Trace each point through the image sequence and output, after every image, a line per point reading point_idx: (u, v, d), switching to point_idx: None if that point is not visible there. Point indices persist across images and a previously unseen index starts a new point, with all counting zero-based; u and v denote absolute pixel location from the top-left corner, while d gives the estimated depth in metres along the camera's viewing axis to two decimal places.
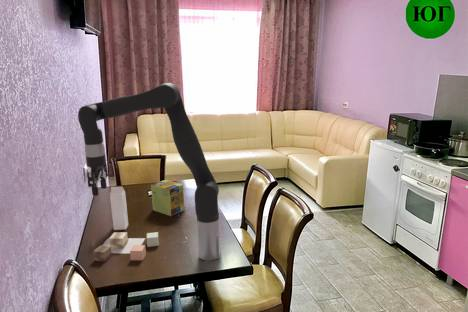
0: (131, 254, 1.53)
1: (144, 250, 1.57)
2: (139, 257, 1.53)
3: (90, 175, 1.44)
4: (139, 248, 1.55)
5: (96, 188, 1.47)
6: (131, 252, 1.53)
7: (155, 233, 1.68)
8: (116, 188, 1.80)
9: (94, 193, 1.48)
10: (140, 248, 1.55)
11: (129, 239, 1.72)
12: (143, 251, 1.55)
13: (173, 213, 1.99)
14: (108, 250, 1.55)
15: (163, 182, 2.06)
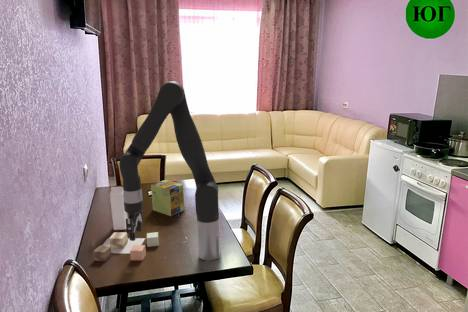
0: (131, 254, 1.53)
1: (144, 250, 1.57)
2: (139, 257, 1.53)
3: (129, 222, 1.45)
4: (139, 248, 1.55)
5: (133, 233, 1.48)
6: (131, 252, 1.53)
7: (155, 233, 1.68)
8: (116, 188, 1.80)
9: (131, 238, 1.49)
10: (140, 248, 1.55)
11: (129, 239, 1.72)
12: (143, 251, 1.55)
13: (173, 213, 1.99)
14: (108, 250, 1.55)
15: (163, 182, 2.06)
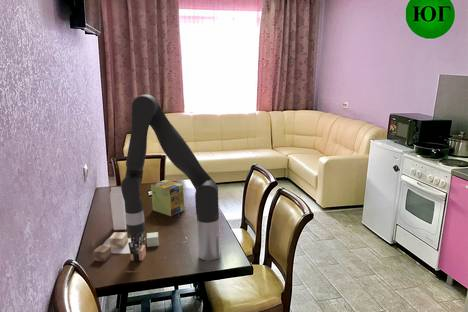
0: (131, 254, 1.53)
1: (144, 250, 1.57)
2: (139, 257, 1.53)
3: (132, 246, 1.48)
4: (139, 248, 1.55)
5: (137, 254, 1.52)
6: None
7: (155, 233, 1.68)
8: (116, 188, 1.80)
9: (135, 259, 1.53)
10: (140, 248, 1.55)
11: (129, 239, 1.72)
12: (143, 251, 1.55)
13: (173, 213, 1.99)
14: (108, 250, 1.55)
15: (163, 182, 2.06)
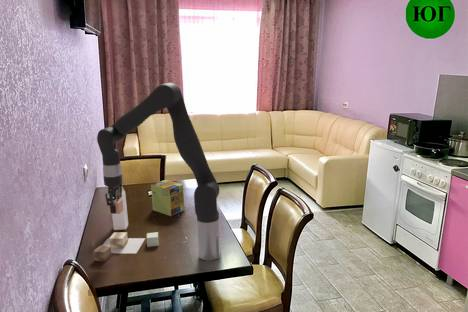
0: (108, 206, 1.58)
1: (121, 203, 1.61)
2: None
3: (108, 196, 1.52)
4: (116, 201, 1.59)
5: (114, 206, 1.57)
6: None
7: (155, 233, 1.68)
8: None
9: (112, 211, 1.57)
10: (117, 201, 1.59)
11: (129, 239, 1.72)
12: (120, 204, 1.59)
13: (173, 213, 1.99)
14: (108, 250, 1.55)
15: (163, 182, 2.06)
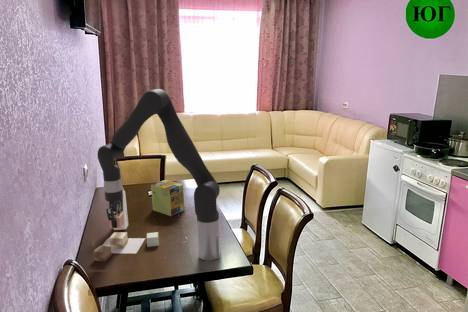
0: (109, 221, 1.61)
1: (123, 217, 1.65)
2: (117, 223, 1.61)
3: (109, 212, 1.55)
4: (117, 215, 1.63)
5: (115, 221, 1.60)
6: None
7: (155, 233, 1.68)
8: None
9: (113, 226, 1.60)
10: (118, 215, 1.62)
11: (129, 239, 1.72)
12: (121, 218, 1.63)
13: (173, 213, 1.99)
14: (108, 250, 1.55)
15: (163, 182, 2.06)
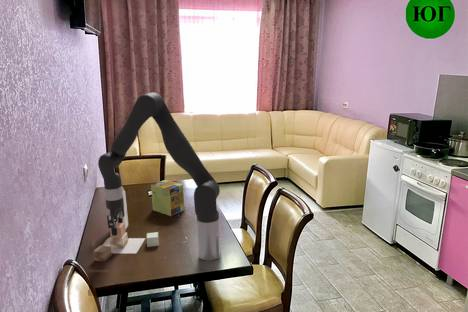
0: None
1: (124, 227, 1.66)
2: (118, 233, 1.62)
3: (110, 218, 1.56)
4: (119, 225, 1.64)
5: (115, 229, 1.60)
6: None
7: (155, 233, 1.68)
8: None
9: (113, 233, 1.60)
10: (120, 225, 1.64)
11: (129, 239, 1.72)
12: (122, 228, 1.64)
13: (173, 213, 1.99)
14: (108, 250, 1.55)
15: (163, 182, 2.06)
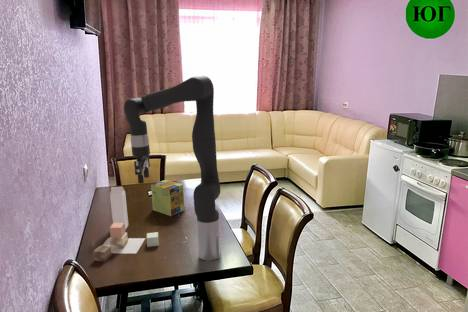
0: (111, 231, 1.62)
1: (124, 227, 1.66)
2: (118, 233, 1.62)
3: (137, 164, 1.54)
4: (119, 225, 1.64)
5: (142, 176, 1.57)
6: (111, 229, 1.62)
7: (155, 233, 1.68)
8: (116, 188, 1.80)
9: (140, 181, 1.57)
10: (120, 225, 1.64)
11: (129, 239, 1.72)
12: (122, 228, 1.64)
13: (173, 213, 1.99)
14: (108, 250, 1.55)
15: (163, 182, 2.06)
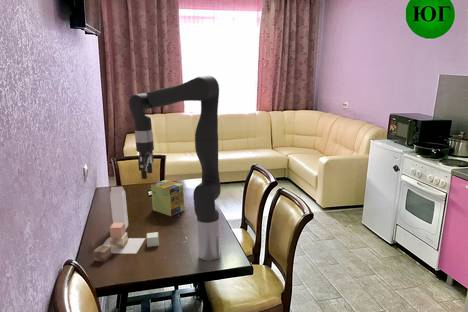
0: (111, 231, 1.62)
1: (124, 227, 1.66)
2: (118, 233, 1.62)
3: (141, 159, 1.54)
4: (119, 225, 1.64)
5: (145, 172, 1.57)
6: (111, 229, 1.62)
7: (155, 233, 1.68)
8: (116, 188, 1.80)
9: (143, 176, 1.58)
10: (120, 225, 1.64)
11: (129, 239, 1.72)
12: (122, 228, 1.64)
13: (173, 213, 1.99)
14: (108, 250, 1.55)
15: (163, 182, 2.06)
